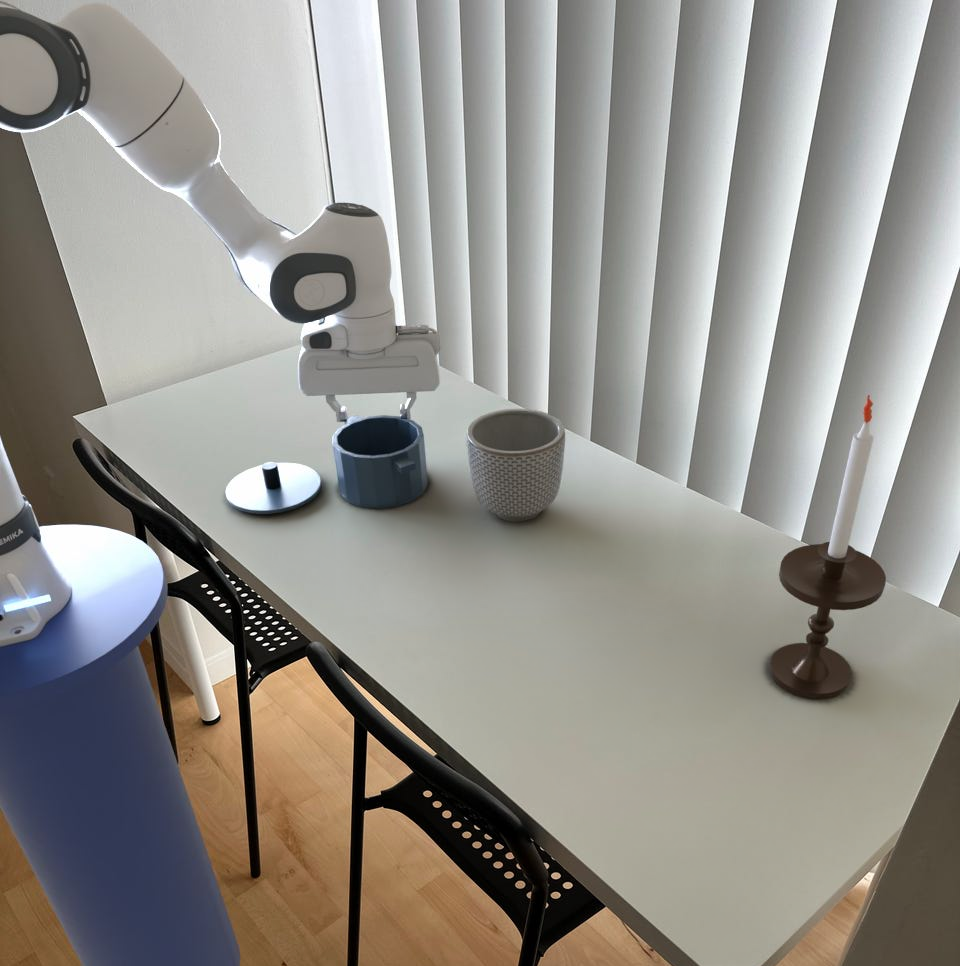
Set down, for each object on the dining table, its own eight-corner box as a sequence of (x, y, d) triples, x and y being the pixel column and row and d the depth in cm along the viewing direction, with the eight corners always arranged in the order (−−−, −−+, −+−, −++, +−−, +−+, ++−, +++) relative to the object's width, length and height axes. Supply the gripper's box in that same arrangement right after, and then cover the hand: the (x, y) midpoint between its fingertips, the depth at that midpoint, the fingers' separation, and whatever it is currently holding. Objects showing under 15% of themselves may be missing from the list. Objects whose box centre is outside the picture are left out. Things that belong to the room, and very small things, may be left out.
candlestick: (810, 717, 109) (879, 430, 87) (741, 665, 116) (789, 387, 94) (878, 681, 113) (960, 398, 91) (808, 633, 120) (868, 359, 98)
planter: (583, 506, 145) (585, 426, 137) (520, 546, 137) (519, 464, 129) (513, 476, 153) (512, 399, 144) (450, 513, 145) (445, 433, 137)
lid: (247, 528, 144) (241, 500, 141) (213, 486, 154) (207, 460, 151) (337, 498, 150) (333, 470, 147) (299, 460, 160) (294, 434, 157)
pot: (371, 526, 143) (365, 474, 138) (318, 473, 156) (310, 424, 151) (452, 498, 148) (448, 447, 143) (393, 449, 161) (388, 401, 156)
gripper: (439, 316, 139) (444, 406, 147) (295, 321, 139) (308, 412, 147) (439, 333, 134) (444, 425, 142) (289, 339, 134) (303, 431, 142)
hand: (374, 419), depth 145 cm, fingers open, 8 cm apart
